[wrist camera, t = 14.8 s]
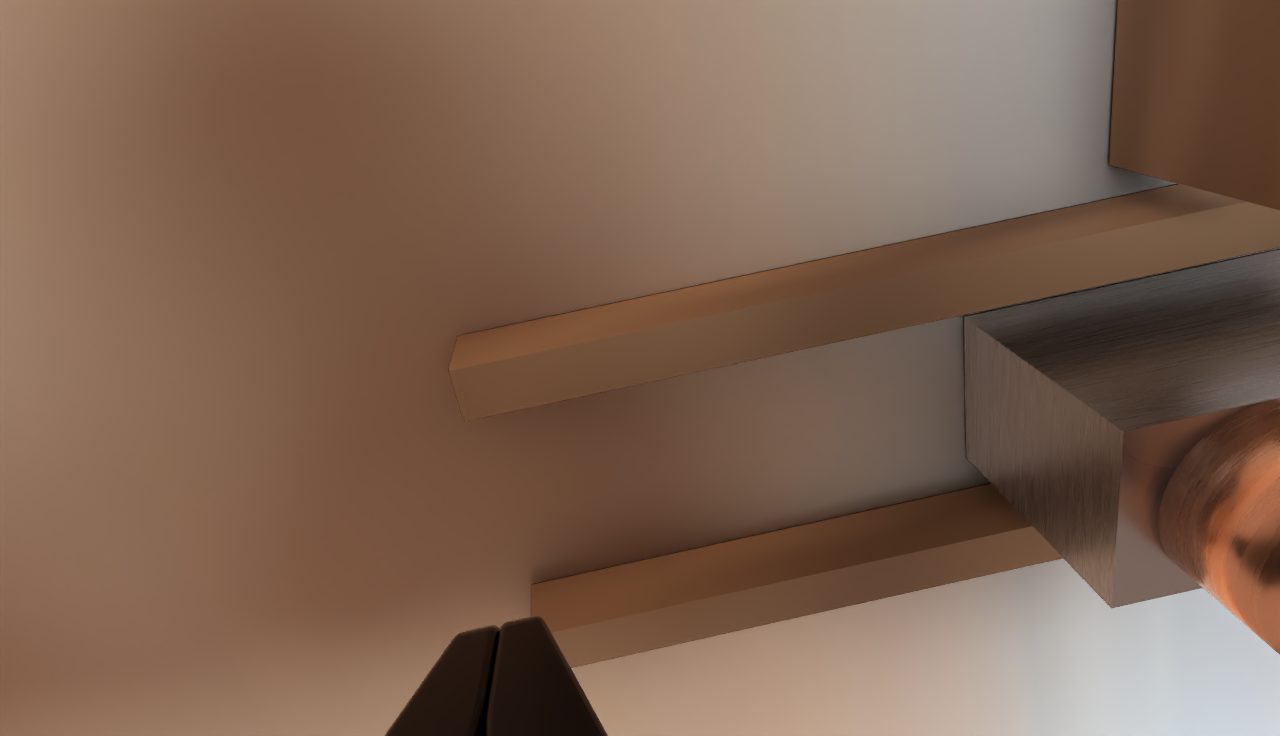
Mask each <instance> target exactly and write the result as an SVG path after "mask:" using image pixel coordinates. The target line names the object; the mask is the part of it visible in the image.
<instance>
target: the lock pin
mask: <svg viewBox="0 0 1280 736" xmlns="http://www.w3.org/2000/svg"><path fill="white" fill-rule="evenodd" d="M964 352H965V402H966V453H967V458H968V459H969V460H970V461H971V462H972V463H973V464H974V465H975V467H976V468H977V469H978V470H979V471H980V472H981V473H982V474H983V475H984V476H985V477H986V478H987V479H988V480H989V481H990V482H991V483H992V484H993V485H994V486H995V487H996V488H997V489H998V490H999V492H1000V493H1001V494H1002V495H1003V496H1004V497H1005V498H1006V499H1007V500H1008V501H1009V502H1010V503H1011V504H1012V505H1013V506H1014V507H1015V508H1016V509H1017V510H1018V511H1019V512H1020V513H1021V514H1022V515H1023V517H1024V518H1025V519H1026V520H1027V521H1028V522H1029V523H1030V524H1031V525H1032V526H1033V527H1034V528H1035V529H1036V530H1037V531H1038V532H1039V533H1040V534H1041V535H1042V536H1043V537H1044V538H1045V539H1046V541H1047V542H1048V543H1049V544H1050V545H1051V546H1052V547H1053V548H1054V549H1055V550H1056V551H1057V552H1058V553H1059V554H1060V555H1061V556H1062V557H1063V558H1064V559H1065V560H1066V561H1067V562H1068V563H1069V564H1070V566H1071V567H1072V568H1073V569H1074V570H1075V571H1076V572H1077V573H1078V574H1079V575H1080V576H1081V577H1082V578H1083V579H1084V580H1085V581H1086V582H1087V583H1088V584H1089V585H1090V586H1091V587H1092V588H1093V589H1094V591H1095V592H1096V593H1097V594H1098V595H1099V596H1100V597H1101V598H1102V599H1103V600H1104V601H1105V602H1106V603H1107V604H1108V605H1109V606H1110V607H1111V608H1115V607H1119V606H1123V605H1128V604H1132V603H1137V602H1141V601H1146V600H1150V599H1154V598H1159V597H1163V596H1168V595H1172V594H1177V593H1181V592H1186V591H1190V590H1194V589H1199V588H1204V589H1205V590H1206V591H1207V592H1208V593H1209V594H1211V595H1212V596H1213V597H1214V598H1215V599H1216V600H1218V601H1219V602H1220V603H1221V604H1222V605H1223V606H1224V607H1226V608H1227V609H1228V610H1229V611H1230V612H1231V613H1232V614H1234V615H1235V616H1236V617H1237V618H1238V619H1239V620H1241V621H1242V622H1243V623H1244V624H1245V625H1246V626H1247V627H1249V628H1250V629H1251V630H1252V631H1253V632H1254V633H1256V634H1257V635H1258V636H1259V637H1260V638H1261V639H1262V640H1264V641H1265V642H1266V643H1267V644H1268V645H1269V646H1271V647H1272V648H1273V649H1274V650H1275V651H1276V652H1278V653H1279V654H1280V250H1275V251H1271V252H1266V253H1261V254H1257V255H1252V256H1247V257H1243V258H1238V259H1233V260H1229V261H1224V262H1219V263H1215V264H1210V265H1205V266H1201V267H1196V268H1191V269H1186V270H1182V271H1177V272H1172V273H1168V274H1163V275H1158V276H1154V277H1149V278H1144V279H1140V280H1135V281H1130V282H1126V283H1121V284H1116V285H1112V286H1107V287H1102V288H1098V289H1093V290H1088V291H1084V292H1079V293H1074V294H1070V295H1065V296H1060V297H1056V298H1051V299H1046V300H1042V301H1037V302H1032V303H1028V304H1023V305H1018V306H1014V307H1009V308H1004V309H999V310H995V311H990V312H985V313H981V314H976V315H971V316H967V317H964Z"/></svg>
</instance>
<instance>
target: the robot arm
mask: <svg viewBox="0 0 1280 736" xmlns="http://www.w3.org/2000/svg"><path fill="white" fill-rule="evenodd" d="M385 736H608V735H607V733H606V732H605V730H604V728H603V726H602V724H601V723H600V721H599V719H598V717H597V715H596V713H595V712H594V710H593V708H592V706H591V704H590V702H589V701H588V699H587V697H586V695H585V693H584V691H583V690H582V688H581V686H580V684H579V682H578V681H577V679H576V677H575V675H574V673H573V671H572V670H571V668H570V666H569V664H568V662H567V660H566V659H565V657H564V655H563V653H562V651H561V650H560V648H559V646H558V644H557V642H556V640H555V639H554V637H553V635H552V633H551V631H550V629H549V628H548V626H547V624H546V622H545V620H544V619H543V618H542V617H540V616H533V617H528V618H524V619H519V620H515V621H510V622H507V623H505V624H504V625H503V626H502V627H501V628H498V627H497V626H487V627H483V628H478V629H474V630H469V631H465V632H462V633H459V634H458V635H457V636H455V637H454V639H453V640H452V641H451V643H450V644H449V645H448V647H447V648H446V650H445V651H444V653H443V654H442V655H441V657H440V658H439V660H438V661H437V662H436V664H435V665H434V667H433V668H432V670H431V671H430V672H429V674H428V675H427V677H426V678H425V679H424V681H423V682H422V684H421V685H420V686H419V688H418V689H417V691H416V692H415V694H414V695H413V696H412V698H411V699H410V701H409V702H408V703H407V705H406V706H405V708H404V709H403V710H402V712H401V713H400V715H399V716H398V718H397V719H396V720H395V722H394V723H393V725H392V726H391V727H390V729H389V730H388V732H387V733H386V735H385Z"/></svg>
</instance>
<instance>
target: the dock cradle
mask: <svg viewBox="0 0 1280 736" xmlns="http://www.w3.org/2000/svg"><path fill="white" fill-rule="evenodd" d="M1109 165H1111V166H1115V167H1118V168H1122V169H1126V170H1130V171H1133V172H1137V173H1141V174H1145V175H1148V176H1152V177H1156V178H1160V179H1163V180H1167V181H1171V182H1175V183H1178V184H1177V185H1172V186H1168V187H1163V188H1158V189H1153V190H1149V191H1144V192H1139V193H1134V194H1130V195H1125V196H1120V197H1115V198H1111V199H1106V200H1101V201H1096V202H1092V203H1087V204H1082V205H1077V206H1073V207H1068V208H1063V209H1059V210H1054V211H1049V212H1044V213H1040V214H1035V215H1030V216H1025V217H1021V218H1016V219H1011V220H1006V221H1002V222H997V223H992V224H987V225H983V226H978V227H973V228H968V229H964V230H959V231H954V232H949V233H945V234H940V235H935V236H930V237H926V238H921V239H916V240H911V241H907V242H902V243H897V244H893V245H888V246H883V247H878V248H874V249H869V250H864V251H859V252H855V253H850V254H845V255H840V256H836V257H831V258H826V259H821V260H817V261H812V262H807V263H802V264H798V265H793V266H788V267H783V268H779V269H774V270H769V271H764V272H760V273H755V274H750V275H745V276H741V277H736V278H731V279H727V280H722V281H717V282H712V283H708V284H703V285H698V286H693V287H689V288H684V289H679V290H674V291H670V292H665V293H660V294H655V295H651V296H646V297H641V298H636V299H632V300H627V301H622V302H617V303H613V304H608V305H603V306H598V307H594V308H589V309H584V310H580V311H575V312H570V313H565V314H561V315H556V316H551V317H546V318H542V319H537V320H532V321H527V322H523V323H518V324H513V325H508V326H504V327H499V328H494V329H489V330H485V331H480V332H475V333H470V334H466V335H461V336H457V340H456V344H455V347H454V351H453V355H452V359H451V363H450V367H449V370H448V372H449V375H450V378H451V381H452V385H453V388H454V391H455V394H456V398H457V401H458V404H459V407H460V411H461V414H462V417H463V420H464V422H465V421H470V420H475V419H479V418H484V417H489V416H493V415H498V414H503V413H507V412H512V411H517V410H521V409H526V408H531V407H535V406H540V405H545V404H549V403H554V402H559V401H563V400H568V399H573V398H577V397H582V396H587V395H591V394H596V393H601V392H605V391H610V390H615V389H620V388H624V387H629V386H634V385H638V384H643V383H648V382H652V381H657V380H662V379H666V378H671V377H676V376H680V375H685V374H690V373H694V372H699V371H704V370H708V369H713V368H718V367H722V366H727V365H732V364H736V363H741V362H746V361H750V360H755V359H760V358H764V357H769V356H774V355H779V354H783V353H788V352H793V351H797V350H802V349H807V348H811V347H816V346H821V345H825V344H830V343H835V342H839V341H844V340H849V339H853V338H858V337H863V336H867V335H872V334H877V333H881V332H886V331H891V330H895V329H900V328H905V327H909V326H914V325H919V324H924V323H928V322H933V321H938V320H942V319H947V318H952V317H956V316H961V315H966V314H970V313H975V312H980V311H984V310H989V309H994V308H998V307H1003V306H1008V305H1012V304H1017V303H1022V302H1026V301H1031V300H1036V299H1040V298H1045V297H1050V296H1054V295H1059V294H1064V293H1068V292H1073V291H1078V290H1083V289H1087V288H1092V287H1097V286H1101V285H1106V284H1111V283H1115V282H1120V281H1125V280H1129V279H1134V278H1139V277H1143V276H1148V275H1153V274H1157V273H1162V272H1167V271H1171V270H1176V269H1181V268H1185V267H1190V266H1195V265H1199V264H1204V263H1209V262H1213V261H1218V260H1223V259H1227V258H1232V257H1237V256H1242V255H1246V254H1251V253H1256V252H1260V251H1265V250H1270V249H1274V248H1279V247H1280V0H1118V10H1117V29H1116V47H1115V65H1114V84H1113V102H1112V121H1111V139H1110V157H1109ZM1061 558H1063V557H1062V556H1061V555H1060V554H1059V553H1058V552H1057V551H1056V550H1055V549H1054V548H1053V547H1052V546H1051V545H1050V544H1049V543H1048V542H1047V541H1046V539H1045V538H1044V537H1043V536H1042V535H1041V534H1040V533H1039V532H1038V531H1037V530H1036V529H1035V528H1034V527H1033V526H1032V525H1031V524H1030V523H1029V522H1028V521H1027V520H1026V519H1025V518H1024V517H1023V515H1022V514H1021V513H1020V512H1019V511H1018V510H1017V509H1016V508H1015V507H1014V506H1013V505H1012V504H1011V503H1010V502H1009V501H1008V500H1007V499H1006V498H1005V497H1004V496H1003V495H1002V494H1001V493H1000V492H999V490H998V489H997V488H996V487H995V486H994V485H993V484H988V485H983V486H979V487H974V488H969V489H965V490H960V491H956V492H951V493H947V494H942V495H938V496H933V497H929V498H924V499H919V500H915V501H910V502H906V503H901V504H897V505H892V506H888V507H883V508H879V509H874V510H869V511H865V512H860V513H856V514H851V515H847V516H842V517H838V518H833V519H829V520H824V521H819V522H815V523H810V524H806V525H801V526H797V527H792V528H788V529H783V530H778V531H774V532H769V533H765V534H760V535H756V536H751V537H747V538H742V539H738V540H733V541H728V542H724V543H719V544H715V545H710V546H706V547H701V548H697V549H692V550H688V551H683V552H678V553H674V554H669V555H665V556H660V557H656V558H651V559H647V560H642V561H638V562H633V563H628V564H624V565H619V566H615V567H610V568H606V569H601V570H597V571H592V572H588V573H583V574H578V575H574V576H569V577H565V578H560V579H556V580H551V581H547V582H542V583H538V584H533V585H531V617H533V616H540V617H542V618H543V619H544V620H545V622H546V624H547V626H548V628H549V629H550V631H551V633H552V635H553V637H554V639H555V640H556V642H557V644H558V646H559V648H560V650H561V651H562V653H563V655H564V657H565V659H566V660H567V662H568V664H569V666H570V668H573V667H577V666H582V665H586V664H590V663H595V662H599V661H604V660H608V659H613V658H617V657H622V656H626V655H631V654H635V653H640V652H644V651H649V650H653V649H658V648H662V647H667V646H671V645H676V644H680V643H685V642H689V641H694V640H698V639H703V638H707V637H711V636H716V635H720V634H725V633H729V632H734V631H738V630H743V629H747V628H752V627H756V626H761V625H765V624H770V623H774V622H779V621H783V620H788V619H792V618H797V617H801V616H806V615H810V614H815V613H819V612H824V611H828V610H833V609H837V608H841V607H846V606H850V605H855V604H859V603H864V602H868V601H873V600H877V599H882V598H886V597H891V596H895V595H900V594H904V593H909V592H913V591H918V590H922V589H927V588H931V587H936V586H940V585H945V584H949V583H954V582H958V581H963V580H967V579H971V578H976V577H980V576H985V575H989V574H994V573H998V572H1003V571H1007V570H1012V569H1016V568H1021V567H1025V566H1030V565H1034V564H1039V563H1043V562H1048V561H1052V560H1057V559H1061Z"/></svg>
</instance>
